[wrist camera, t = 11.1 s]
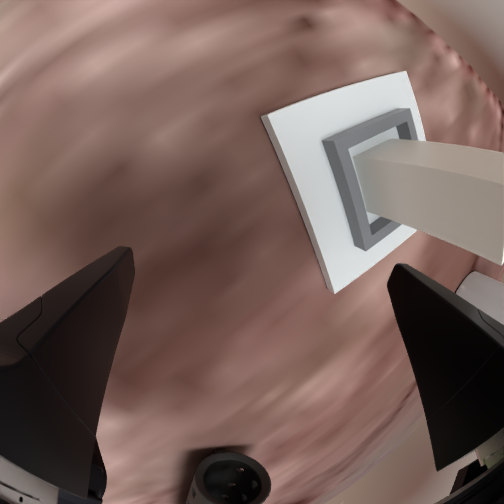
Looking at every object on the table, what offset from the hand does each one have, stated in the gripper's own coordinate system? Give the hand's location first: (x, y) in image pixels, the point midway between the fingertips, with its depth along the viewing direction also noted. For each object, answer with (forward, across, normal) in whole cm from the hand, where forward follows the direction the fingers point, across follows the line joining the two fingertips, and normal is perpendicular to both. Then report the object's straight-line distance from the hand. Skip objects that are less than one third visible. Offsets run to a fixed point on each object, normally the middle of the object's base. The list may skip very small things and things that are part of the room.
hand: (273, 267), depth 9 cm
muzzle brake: (+1, +3, +44) cm, 44 cm away
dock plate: (+15, -11, 0) cm, 19 cm away
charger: (+14, -11, 0) cm, 18 cm away
